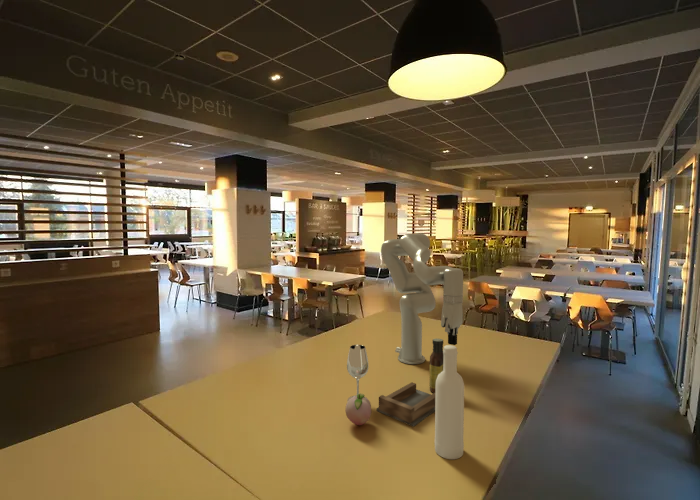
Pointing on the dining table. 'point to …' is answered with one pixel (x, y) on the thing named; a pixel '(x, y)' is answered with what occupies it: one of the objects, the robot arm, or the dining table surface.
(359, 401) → the decorative fruit
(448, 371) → the bottle
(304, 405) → the dining table surface
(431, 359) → the sauce bottle
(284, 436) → the dining table surface
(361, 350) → the wineglass
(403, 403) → the cradle
